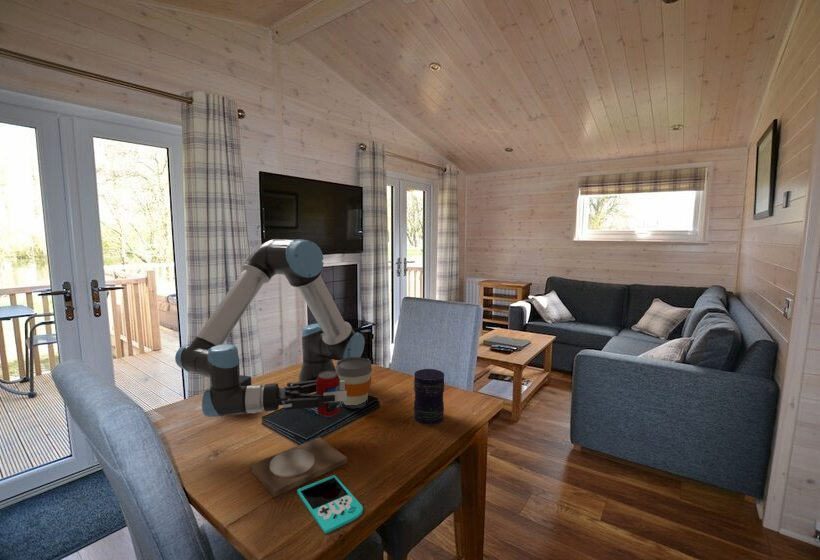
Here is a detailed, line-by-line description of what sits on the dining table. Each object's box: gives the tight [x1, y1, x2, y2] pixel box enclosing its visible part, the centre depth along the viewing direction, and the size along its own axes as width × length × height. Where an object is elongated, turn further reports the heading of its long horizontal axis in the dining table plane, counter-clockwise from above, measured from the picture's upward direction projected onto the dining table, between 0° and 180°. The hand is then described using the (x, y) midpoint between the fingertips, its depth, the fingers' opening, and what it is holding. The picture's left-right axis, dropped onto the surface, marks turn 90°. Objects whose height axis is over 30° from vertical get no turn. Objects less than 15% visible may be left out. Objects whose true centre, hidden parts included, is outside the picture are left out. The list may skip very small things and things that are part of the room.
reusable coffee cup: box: [335, 356, 373, 405], centre depth 139 cm, size 13×13×15 cm
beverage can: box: [316, 371, 341, 418], centre depth 117 cm, size 7×7×12 cm
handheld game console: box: [296, 474, 364, 534], centre depth 90 cm, size 10×16×1 cm, turn 36°
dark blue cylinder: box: [413, 368, 445, 426], centre depth 129 cm, size 10×10×15 cm
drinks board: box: [250, 436, 348, 498], centre depth 103 cm, size 20×14×2 cm
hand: (345, 390), depth 118 cm, fingers closed on beverage can, 7 cm apart
